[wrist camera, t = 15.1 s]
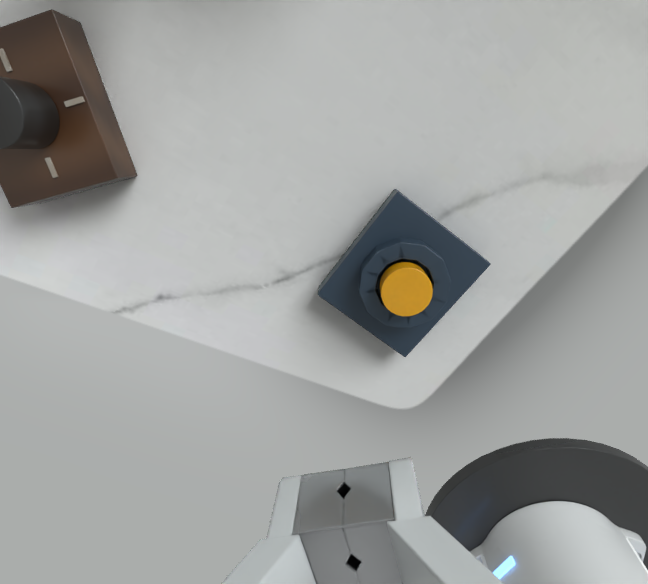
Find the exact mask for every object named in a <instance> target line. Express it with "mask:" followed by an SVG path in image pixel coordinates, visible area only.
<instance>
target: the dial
mask: <svg viewBox="0 0 648 584" xmlns="http://www.w3.org/2000/svg"><path fill="white" fill-rule="evenodd" d="M59 124H60V122H59V114H58V110H57V108H56V105H55V103H54V102H53V100H52V99H51V97H50V96H49V95H48V94H47V93H46V92H45V91H44V90H43V89H42V88H40V87H39V86H37V85H35V84H33V83H30V82H26V81H21V80H17V79H12V78H7V77H3V76H0V149H41V148H44V147H46V146H48V145H49V144H51V143H52V142H53V141H54V139H55V138H56V136H57V134H58V131H59Z"/></svg>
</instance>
